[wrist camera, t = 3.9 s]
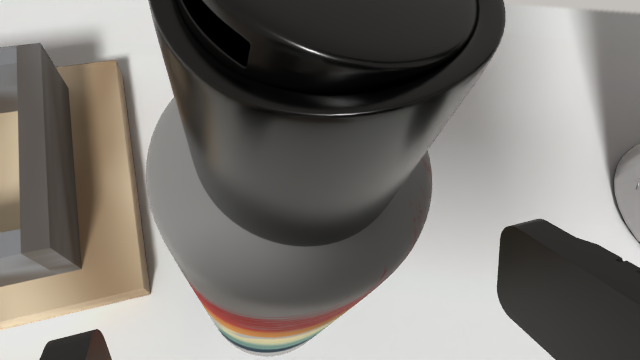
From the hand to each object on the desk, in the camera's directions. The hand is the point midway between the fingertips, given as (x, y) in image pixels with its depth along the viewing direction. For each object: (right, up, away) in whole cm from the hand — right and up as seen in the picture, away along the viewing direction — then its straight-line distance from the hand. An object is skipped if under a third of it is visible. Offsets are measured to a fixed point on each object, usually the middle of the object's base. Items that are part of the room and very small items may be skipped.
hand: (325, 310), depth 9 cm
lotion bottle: (-3, -3, +14) cm, 14 cm away
